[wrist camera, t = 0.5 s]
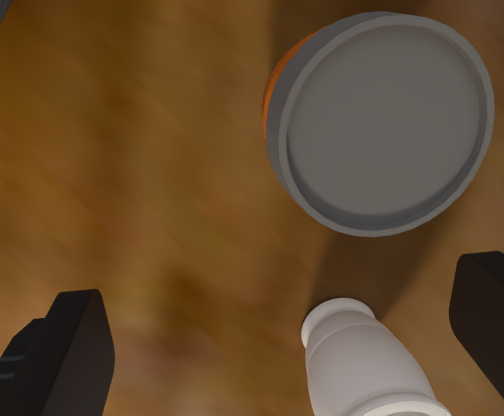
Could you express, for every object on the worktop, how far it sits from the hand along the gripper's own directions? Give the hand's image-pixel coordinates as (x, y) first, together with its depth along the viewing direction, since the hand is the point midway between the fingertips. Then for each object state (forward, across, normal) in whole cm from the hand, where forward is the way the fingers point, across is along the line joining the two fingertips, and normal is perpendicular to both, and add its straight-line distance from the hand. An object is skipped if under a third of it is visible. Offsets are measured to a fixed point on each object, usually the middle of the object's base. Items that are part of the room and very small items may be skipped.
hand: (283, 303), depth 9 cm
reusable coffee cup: (+29, -8, +1) cm, 30 cm away
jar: (+28, -10, +26) cm, 39 cm away
